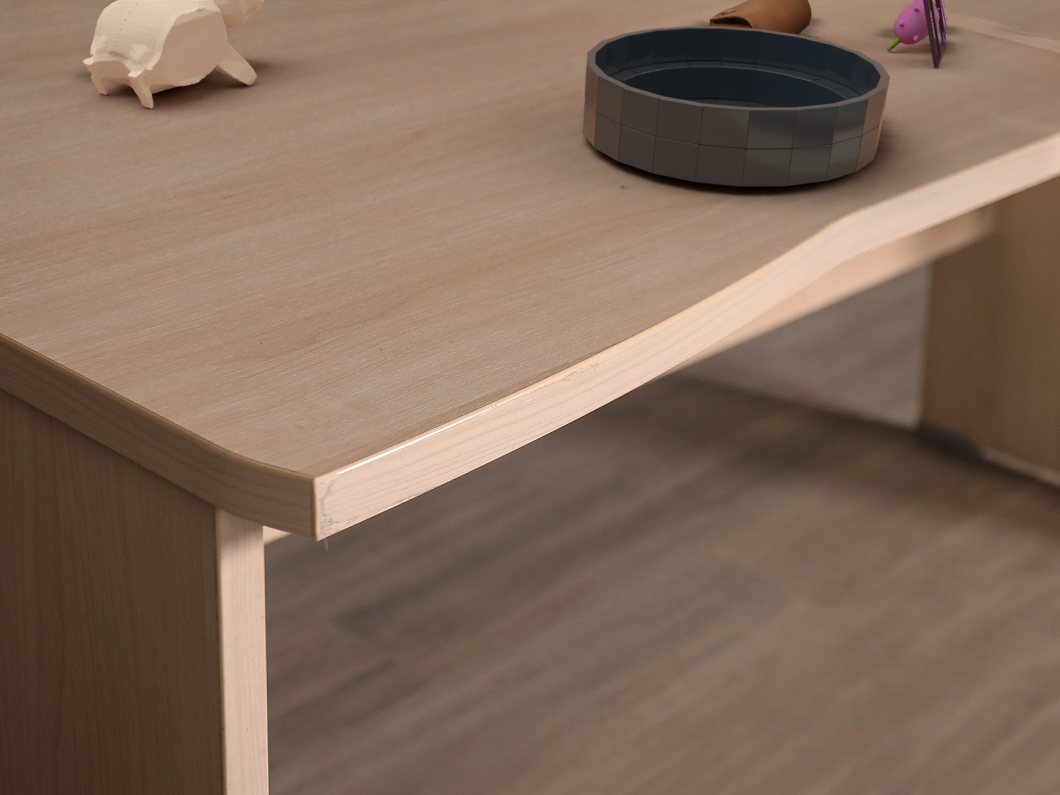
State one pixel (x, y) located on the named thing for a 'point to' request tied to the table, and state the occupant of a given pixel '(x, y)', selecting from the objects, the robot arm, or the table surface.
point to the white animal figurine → (167, 44)
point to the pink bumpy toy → (922, 26)
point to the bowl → (734, 105)
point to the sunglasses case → (767, 16)
